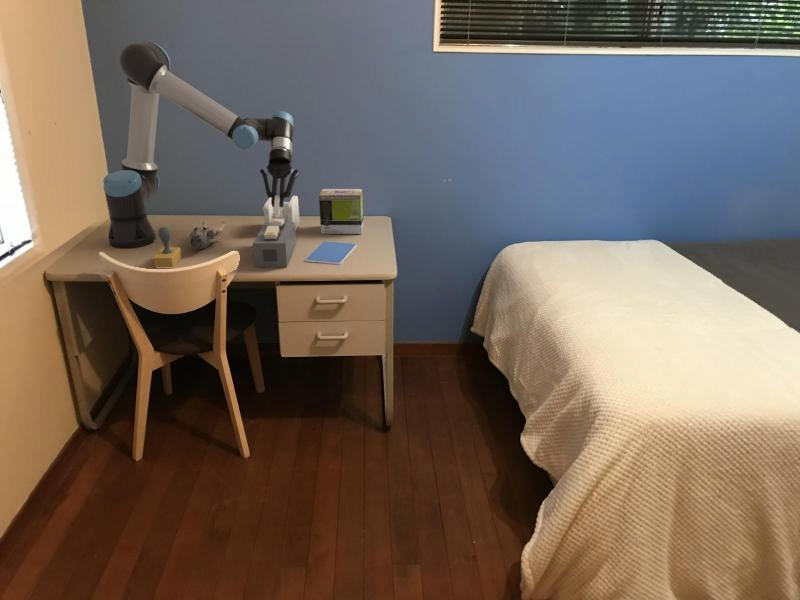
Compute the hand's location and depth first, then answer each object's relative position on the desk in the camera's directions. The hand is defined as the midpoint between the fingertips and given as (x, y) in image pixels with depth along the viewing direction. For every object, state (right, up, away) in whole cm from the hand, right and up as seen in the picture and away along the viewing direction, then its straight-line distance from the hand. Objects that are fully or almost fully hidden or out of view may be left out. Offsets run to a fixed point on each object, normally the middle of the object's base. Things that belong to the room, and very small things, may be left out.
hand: (276, 214), depth 202 cm
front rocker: (0, -7, -8) cm, 11 cm away
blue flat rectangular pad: (+18, -13, +3) cm, 22 cm away
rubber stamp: (-33, -17, -7) cm, 37 cm away
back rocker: (0, -3, +1) cm, 3 cm away
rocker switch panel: (0, -13, 0) cm, 13 cm away
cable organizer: (-3, -2, +25) cm, 25 cm away
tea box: (+19, -2, +25) cm, 32 cm away
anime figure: (-27, -8, +12) cm, 31 cm away
